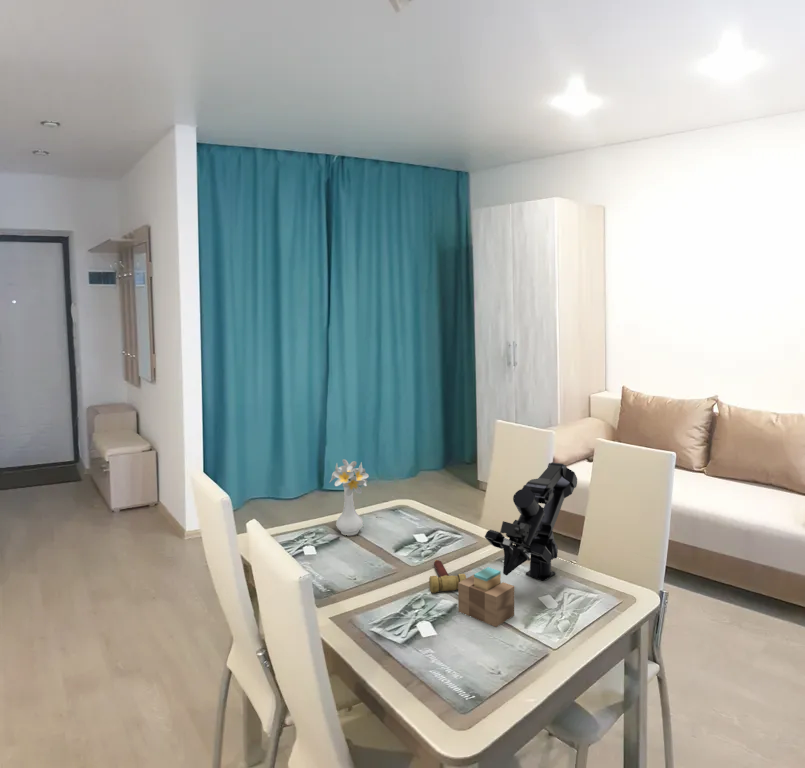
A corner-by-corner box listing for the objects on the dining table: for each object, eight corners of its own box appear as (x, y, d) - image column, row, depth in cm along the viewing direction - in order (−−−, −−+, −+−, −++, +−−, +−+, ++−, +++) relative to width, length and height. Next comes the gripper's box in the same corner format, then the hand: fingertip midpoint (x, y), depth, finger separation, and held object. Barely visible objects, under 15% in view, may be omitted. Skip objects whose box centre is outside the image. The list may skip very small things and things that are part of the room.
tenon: (487, 605, 177) (488, 567, 175) (500, 610, 174) (500, 571, 173) (474, 614, 173) (474, 574, 171) (486, 619, 170) (486, 578, 168)
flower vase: (343, 545, 220) (341, 472, 217) (324, 528, 237) (322, 459, 233) (379, 538, 226) (378, 466, 222) (358, 521, 242) (356, 454, 239)
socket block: (476, 600, 180) (476, 572, 179) (514, 615, 172) (514, 586, 171) (458, 611, 174) (458, 582, 173) (496, 627, 166) (496, 596, 165)
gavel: (419, 554, 204) (451, 552, 206) (420, 569, 205) (452, 566, 206) (431, 579, 184) (467, 577, 185) (432, 595, 184) (467, 593, 185)
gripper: (488, 501, 186) (463, 551, 180) (546, 517, 173) (522, 571, 167) (504, 520, 193) (481, 569, 187) (561, 537, 180) (539, 589, 174)
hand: (504, 574), depth 178 cm, fingers closed
